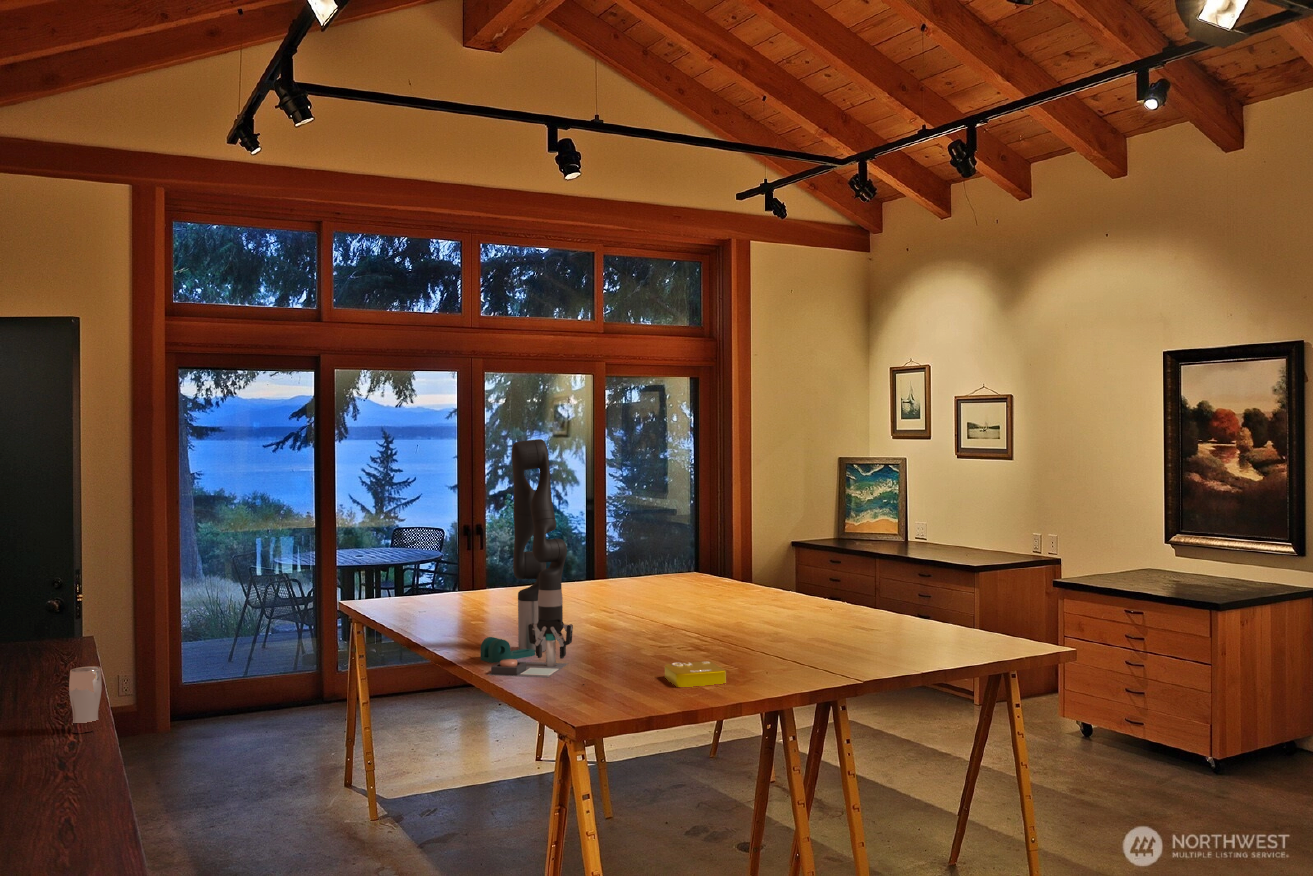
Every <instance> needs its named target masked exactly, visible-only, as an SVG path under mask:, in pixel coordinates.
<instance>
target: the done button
mask: <svg viewBox="0 0 1313 876" xmlns="http://www.w3.org/2000/svg"><path fill="white" fill-rule="evenodd" d="M517 662H518V659H504V660H501V661H500V667H516V666H517Z"/></svg>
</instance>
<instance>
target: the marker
mask: <svg viewBox="0 0 1313 876" xmlns="http://www.w3.org/2000/svg"><path fill="white" fill-rule="evenodd" d="M545 640H546V651H545V663H546V666H548V667H553V666H556V663H557V662H556V660H557V658H556V657H557V656H556V655H557V654H556V644H557V643H556V641H557V640H556V638H555V637H553V634H546V637H545Z"/></svg>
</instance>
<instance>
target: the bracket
mask: <svg viewBox="0 0 1313 876" xmlns="http://www.w3.org/2000/svg"><path fill="white" fill-rule="evenodd" d="M534 656H536V652H535V650H532V649H520V650H518V649H514V650H511V645H510V643H509V641H507V640H506V639H502V638H497V637H493V636H489V637H486V638H485V639H484V640H483V641H482V643H481V645H480V661H483V662H487V663H489V664H497V663H499V662H500V661H501V660H504V659H516V660H520V659H523V658H530V657H534Z"/></svg>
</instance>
